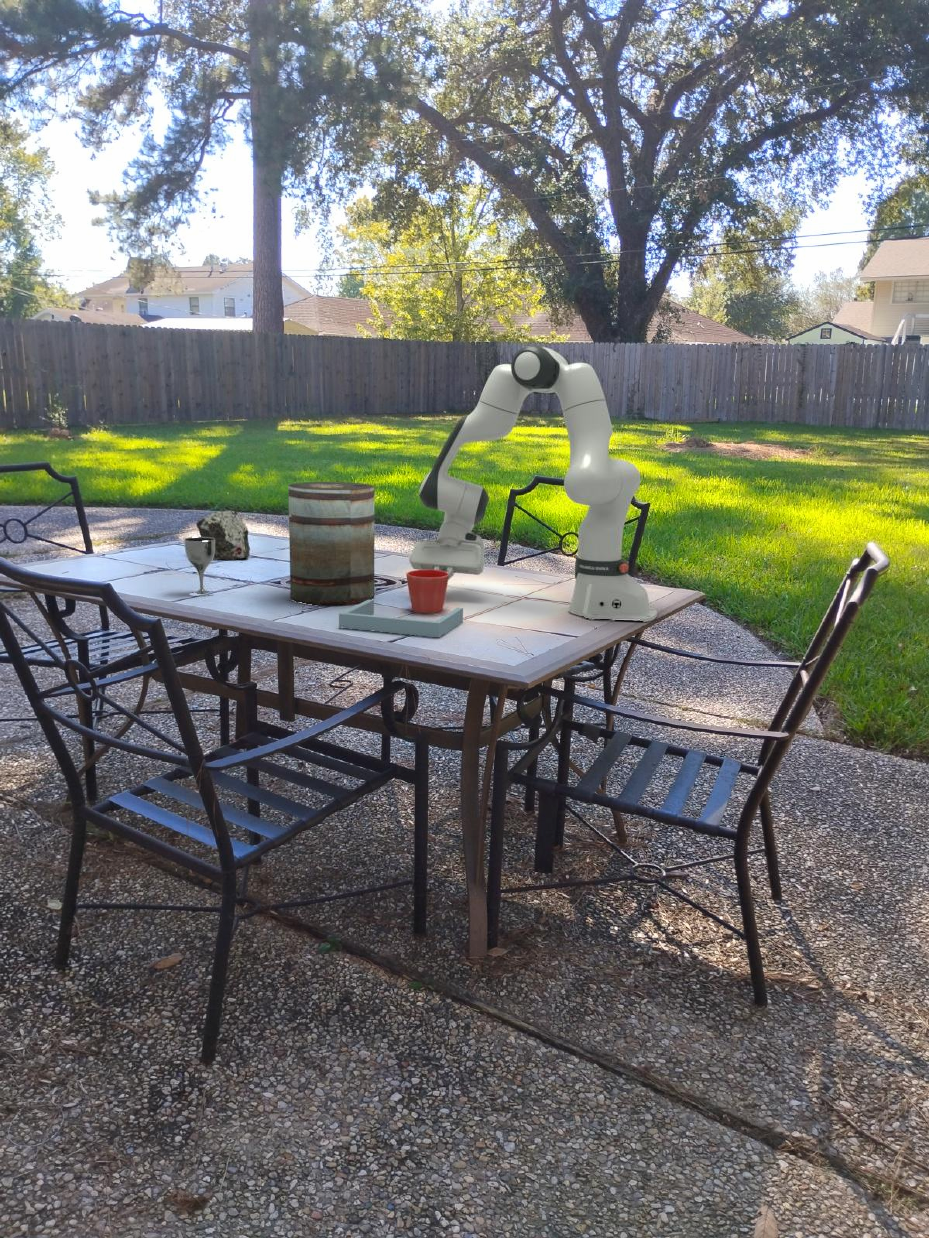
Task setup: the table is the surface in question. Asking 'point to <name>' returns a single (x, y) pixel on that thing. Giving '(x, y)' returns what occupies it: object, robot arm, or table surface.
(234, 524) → the stone
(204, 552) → the silver goblet
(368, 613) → the tray frame
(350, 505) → the barrel
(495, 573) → the table surface
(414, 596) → the flower pot
